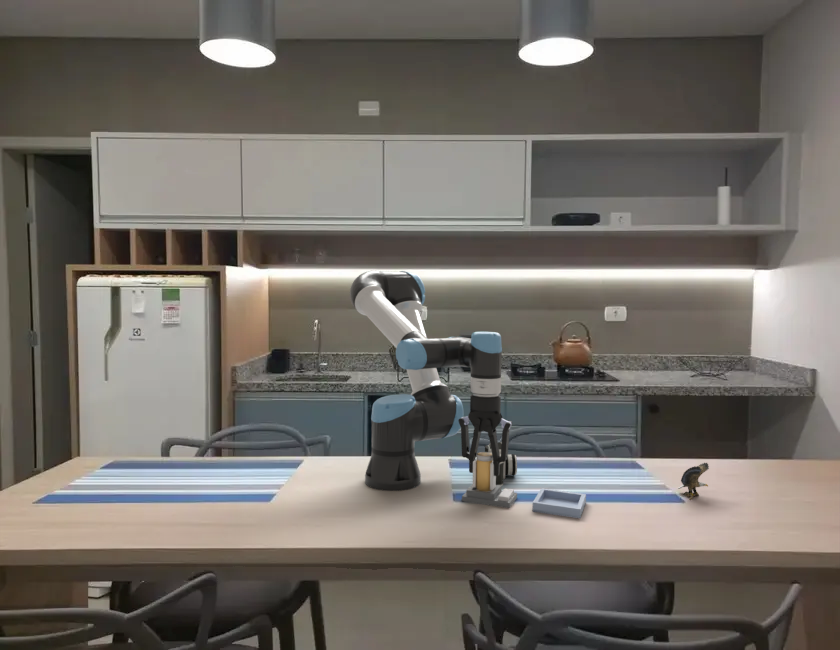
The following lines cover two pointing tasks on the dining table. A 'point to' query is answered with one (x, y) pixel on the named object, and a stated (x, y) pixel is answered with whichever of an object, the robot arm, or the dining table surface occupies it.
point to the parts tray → (559, 503)
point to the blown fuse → (483, 471)
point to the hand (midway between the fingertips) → (484, 486)
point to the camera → (504, 465)
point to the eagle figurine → (693, 479)
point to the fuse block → (490, 496)
